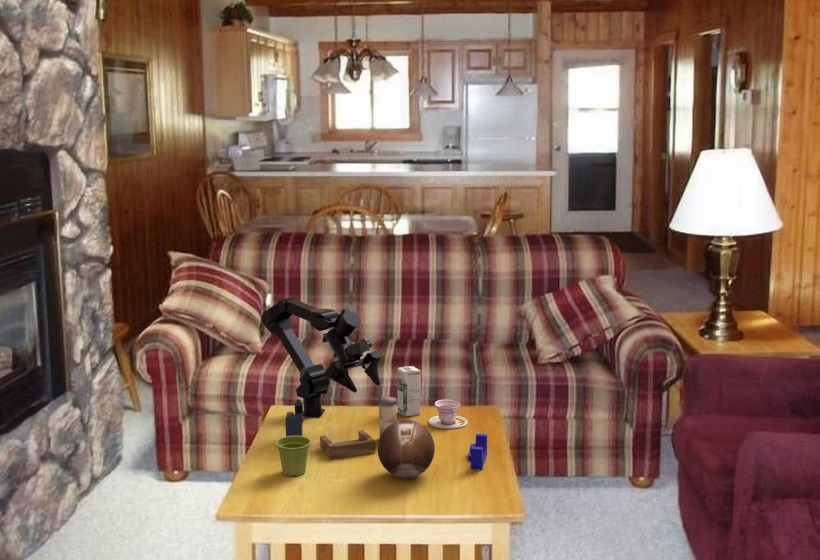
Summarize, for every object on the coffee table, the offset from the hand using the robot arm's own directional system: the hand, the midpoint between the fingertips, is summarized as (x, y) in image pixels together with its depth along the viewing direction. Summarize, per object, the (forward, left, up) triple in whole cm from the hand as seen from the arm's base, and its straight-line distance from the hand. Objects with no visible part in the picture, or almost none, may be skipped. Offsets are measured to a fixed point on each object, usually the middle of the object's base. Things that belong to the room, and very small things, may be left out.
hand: (367, 388), depth 296 cm
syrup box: (-19, +10, -14) cm, 26 cm away
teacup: (-12, +23, -14) cm, 29 cm away
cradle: (+15, -3, -14) cm, 20 cm away
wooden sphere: (+32, +16, -14) cm, 38 cm away
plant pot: (+33, -14, -14) cm, 38 cm away
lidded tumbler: (+5, +7, -14) cm, 16 cm away
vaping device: (+8, -20, -14) cm, 26 cm away
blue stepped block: (+19, +33, -14) cm, 41 cm away
